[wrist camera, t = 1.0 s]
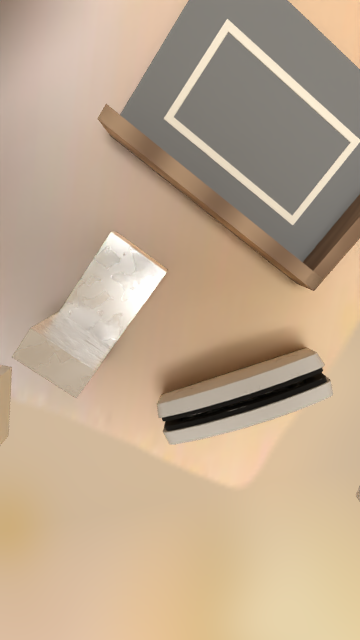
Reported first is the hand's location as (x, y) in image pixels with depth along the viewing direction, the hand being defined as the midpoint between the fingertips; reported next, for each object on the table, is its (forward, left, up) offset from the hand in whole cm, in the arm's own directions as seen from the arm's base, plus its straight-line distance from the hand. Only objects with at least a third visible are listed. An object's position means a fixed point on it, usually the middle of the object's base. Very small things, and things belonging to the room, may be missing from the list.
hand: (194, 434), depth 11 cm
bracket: (-7, -4, -21) cm, 23 cm away
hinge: (+9, -4, -21) cm, 23 cm away
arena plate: (-4, +16, -21) cm, 27 cm away
